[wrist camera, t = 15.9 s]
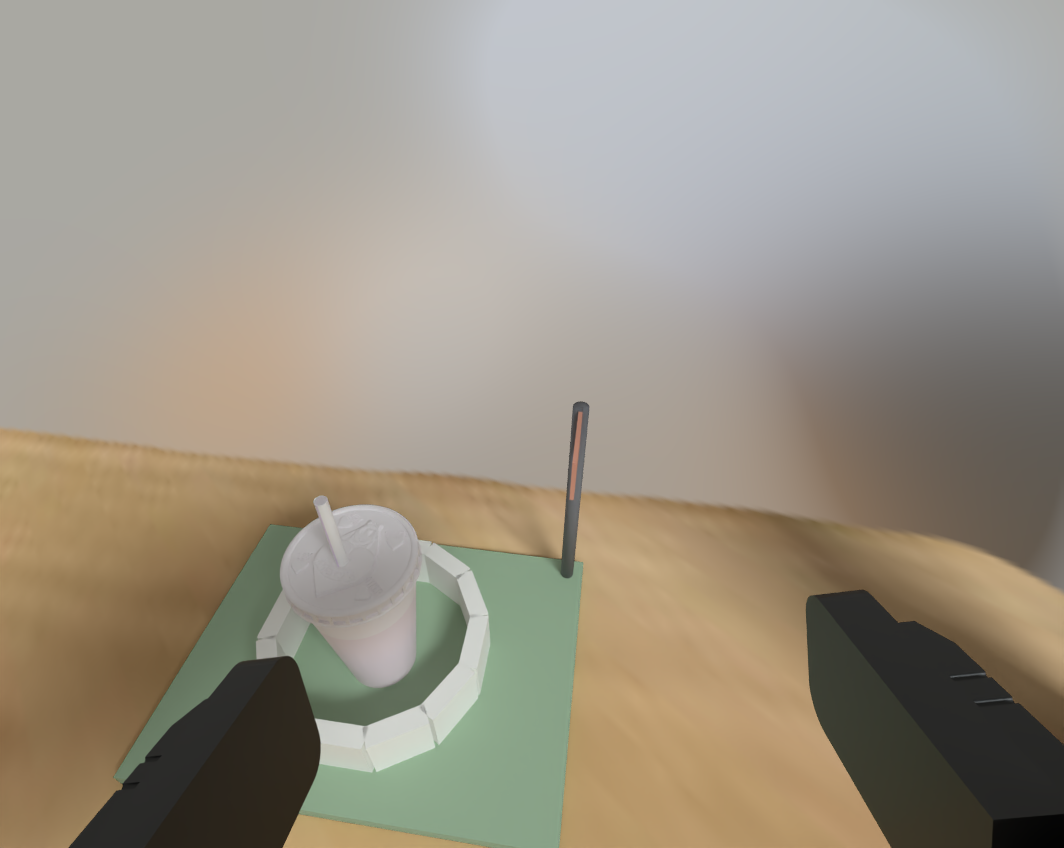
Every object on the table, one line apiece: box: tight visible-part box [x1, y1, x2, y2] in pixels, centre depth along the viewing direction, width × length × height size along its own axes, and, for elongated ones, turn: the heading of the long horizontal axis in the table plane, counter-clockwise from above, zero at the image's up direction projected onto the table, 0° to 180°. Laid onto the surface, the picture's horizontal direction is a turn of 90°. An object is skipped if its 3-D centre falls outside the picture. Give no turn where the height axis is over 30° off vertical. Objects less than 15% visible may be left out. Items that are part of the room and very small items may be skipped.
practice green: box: [113, 402, 589, 848], centre depth 29 cm, size 22×16×15 cm
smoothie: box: [280, 496, 422, 688], centre depth 28 cm, size 6×6×14 cm
